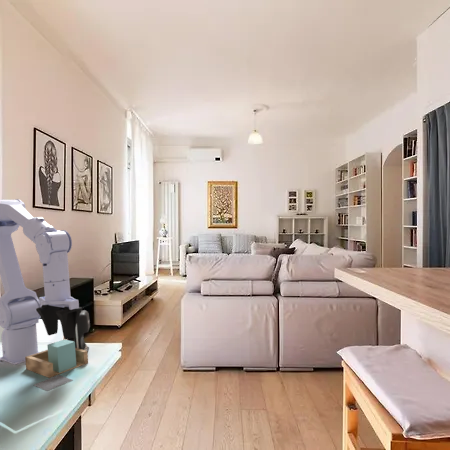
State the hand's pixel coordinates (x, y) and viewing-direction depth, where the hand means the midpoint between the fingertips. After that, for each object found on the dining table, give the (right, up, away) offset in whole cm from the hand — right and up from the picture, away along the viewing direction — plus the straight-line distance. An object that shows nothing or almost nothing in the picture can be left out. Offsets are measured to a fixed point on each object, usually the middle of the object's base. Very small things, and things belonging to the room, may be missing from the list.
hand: (60, 336), depth 92 cm
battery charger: (+1, -8, +11) cm, 14 cm away
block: (0, -8, 0) cm, 8 cm away
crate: (-2, -8, +2) cm, 9 cm away
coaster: (+2, -8, -9) cm, 12 cm away
